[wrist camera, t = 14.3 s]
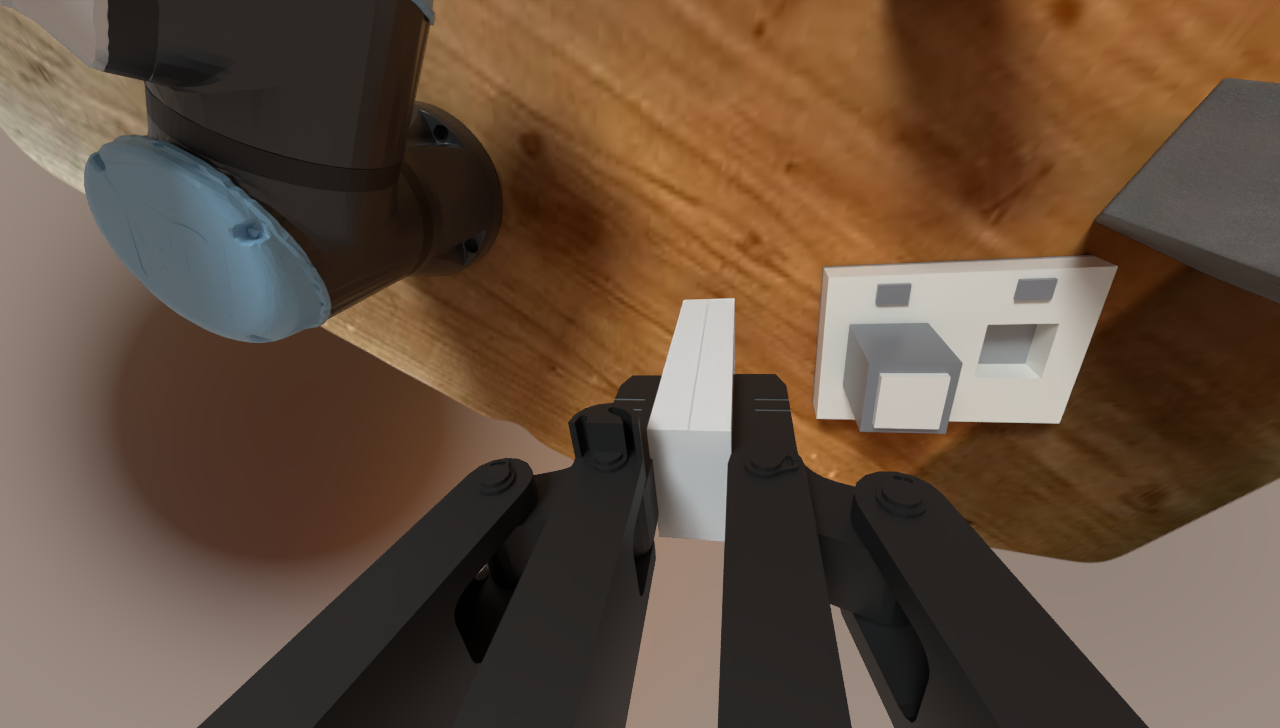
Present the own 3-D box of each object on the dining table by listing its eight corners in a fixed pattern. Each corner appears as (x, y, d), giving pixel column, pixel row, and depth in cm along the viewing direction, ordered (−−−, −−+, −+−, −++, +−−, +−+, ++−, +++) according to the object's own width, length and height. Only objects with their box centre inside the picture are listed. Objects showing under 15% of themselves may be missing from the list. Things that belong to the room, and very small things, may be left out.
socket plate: (812, 401, 48) (817, 421, 45) (823, 266, 41) (829, 279, 39) (1040, 404, 44) (1062, 426, 41) (1091, 254, 37) (1121, 267, 34)
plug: (836, 369, 45) (861, 436, 36) (842, 310, 43) (871, 367, 33) (905, 369, 44) (948, 438, 35) (916, 308, 41) (966, 367, 32)
